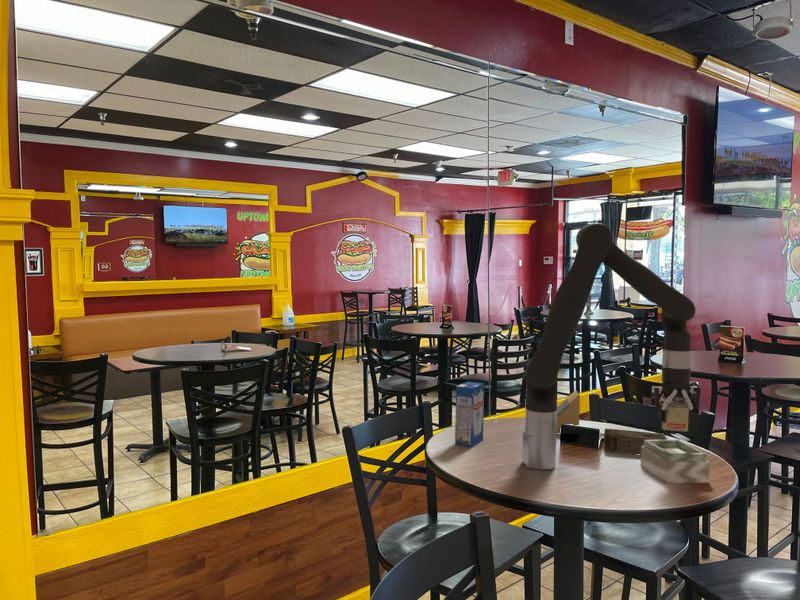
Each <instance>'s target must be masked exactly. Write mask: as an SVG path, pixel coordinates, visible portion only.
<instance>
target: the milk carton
mask: <svg viewBox="0 0 800 600" xmlns="http://www.w3.org/2000/svg"><path fill="white" fill-rule="evenodd" d="M484 400H485V383H483V382H476V381H475V382H474V381H465V382H463V383H460V384H459V385H456V386H455V426H454V427H455V429H454V431H455V432H454V433H455V434H454V435H455V436H454V439H455V441H454V445H456V446H460V447H461V446H462V447H468V448H474V447H475V446H476V445H478V444H479V443H481V442H482V441H484V413H485V412H484V406H485V405H484V404H485V401H484Z"/></svg>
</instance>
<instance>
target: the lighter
mask: <svg viewBox="0 0 800 600" xmlns="http://www.w3.org/2000/svg"><path fill="white" fill-rule="evenodd" d="M674 400H675V401H671V402H670V404H668V405H667V407H666V409H665V410H666V422H665V423H662V422H661V429H662V430H663V431H669V432H670V431H672V432H684V433H685V432H688V431H689V422H688V415H689V407H688V405H689V404H687V403H686V398H681V397H675V398H674ZM679 400H682V402H681V401H679ZM663 403H664V402H663Z"/></svg>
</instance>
